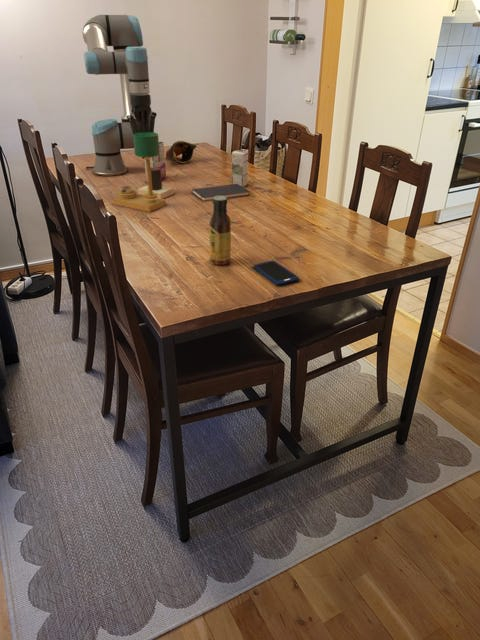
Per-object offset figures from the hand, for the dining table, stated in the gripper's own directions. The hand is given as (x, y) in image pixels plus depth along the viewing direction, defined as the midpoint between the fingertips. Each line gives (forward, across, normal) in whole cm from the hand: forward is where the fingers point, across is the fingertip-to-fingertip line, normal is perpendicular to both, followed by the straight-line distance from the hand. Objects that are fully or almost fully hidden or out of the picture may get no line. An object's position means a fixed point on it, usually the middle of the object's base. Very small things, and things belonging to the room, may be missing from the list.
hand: (145, 158), depth 192 cm
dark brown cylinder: (+13, +3, 0) cm, 13 cm away
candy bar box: (+16, +19, +17) cm, 29 cm away
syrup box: (+16, +38, -17) cm, 45 cm away
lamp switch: (+12, -11, 0) cm, 16 cm away
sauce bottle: (+15, -29, -66) cm, 74 cm away
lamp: (+11, -9, -12) cm, 18 cm away
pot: (+16, +51, +34) cm, 63 cm away
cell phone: (+15, -25, -84) cm, 89 cm away
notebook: (+15, +22, -20) cm, 34 cm away
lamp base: (+15, -10, -6) cm, 19 cm away
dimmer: (+15, +4, 0) cm, 16 cm away
